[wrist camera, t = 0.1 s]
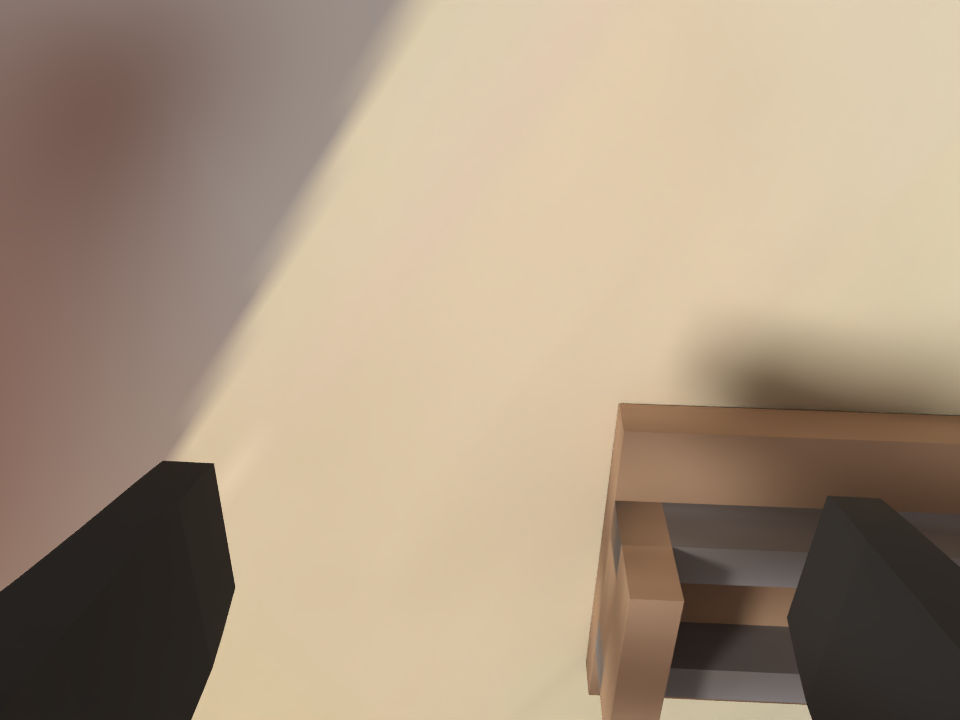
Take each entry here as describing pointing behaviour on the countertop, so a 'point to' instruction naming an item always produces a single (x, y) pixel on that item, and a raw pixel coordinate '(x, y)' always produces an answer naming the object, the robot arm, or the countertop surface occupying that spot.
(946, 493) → the track base
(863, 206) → the countertop surface
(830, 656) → the robot arm
